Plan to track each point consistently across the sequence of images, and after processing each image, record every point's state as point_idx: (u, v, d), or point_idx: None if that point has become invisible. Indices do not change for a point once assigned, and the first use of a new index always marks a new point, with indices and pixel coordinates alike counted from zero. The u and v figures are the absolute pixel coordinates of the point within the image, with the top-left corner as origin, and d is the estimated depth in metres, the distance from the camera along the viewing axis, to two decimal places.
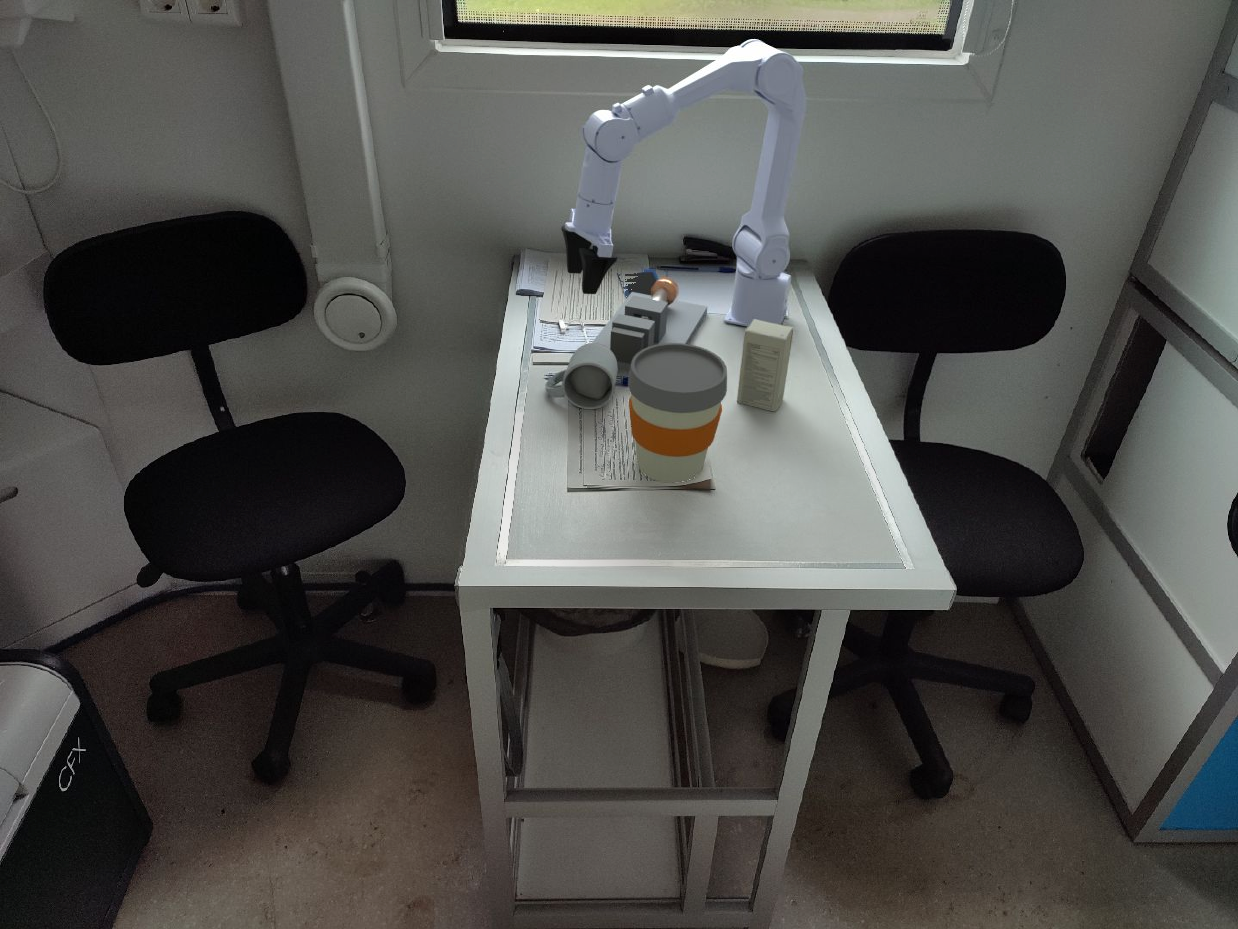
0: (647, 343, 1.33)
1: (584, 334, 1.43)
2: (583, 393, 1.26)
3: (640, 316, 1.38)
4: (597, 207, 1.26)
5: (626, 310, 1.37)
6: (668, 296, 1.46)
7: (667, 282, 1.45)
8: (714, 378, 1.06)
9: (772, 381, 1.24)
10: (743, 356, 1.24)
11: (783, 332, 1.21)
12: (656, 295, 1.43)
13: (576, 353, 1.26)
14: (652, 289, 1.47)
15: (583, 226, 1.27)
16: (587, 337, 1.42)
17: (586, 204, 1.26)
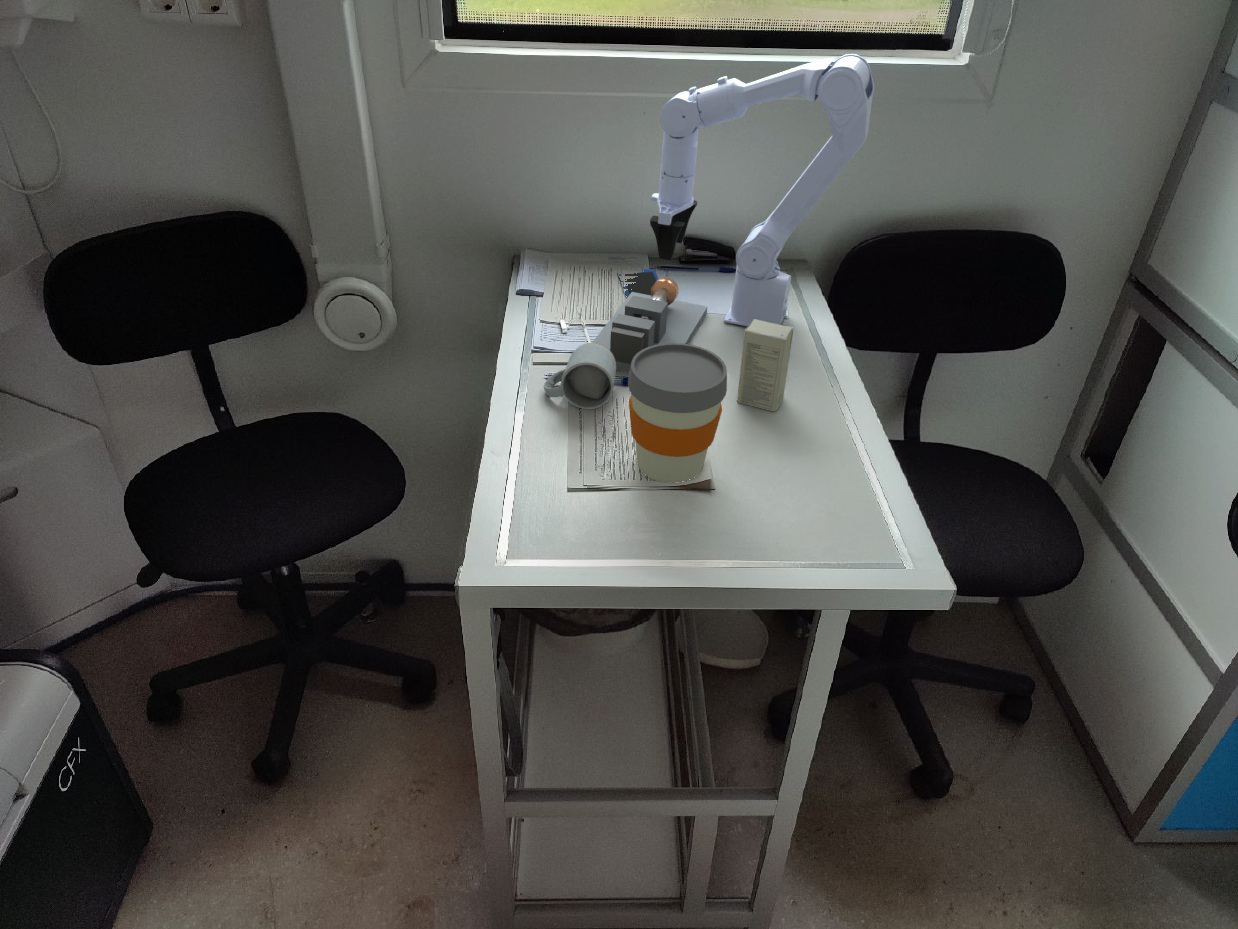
0: (647, 343, 1.33)
1: (586, 334, 1.43)
2: (582, 393, 1.26)
3: (640, 316, 1.38)
4: (669, 179, 1.39)
5: (626, 310, 1.37)
6: (668, 296, 1.46)
7: (667, 282, 1.45)
8: (714, 378, 1.06)
9: (772, 381, 1.24)
10: (743, 356, 1.24)
11: (783, 332, 1.21)
12: (656, 295, 1.43)
13: (575, 353, 1.26)
14: (652, 289, 1.47)
15: (660, 196, 1.42)
16: (588, 337, 1.42)
17: (662, 176, 1.40)
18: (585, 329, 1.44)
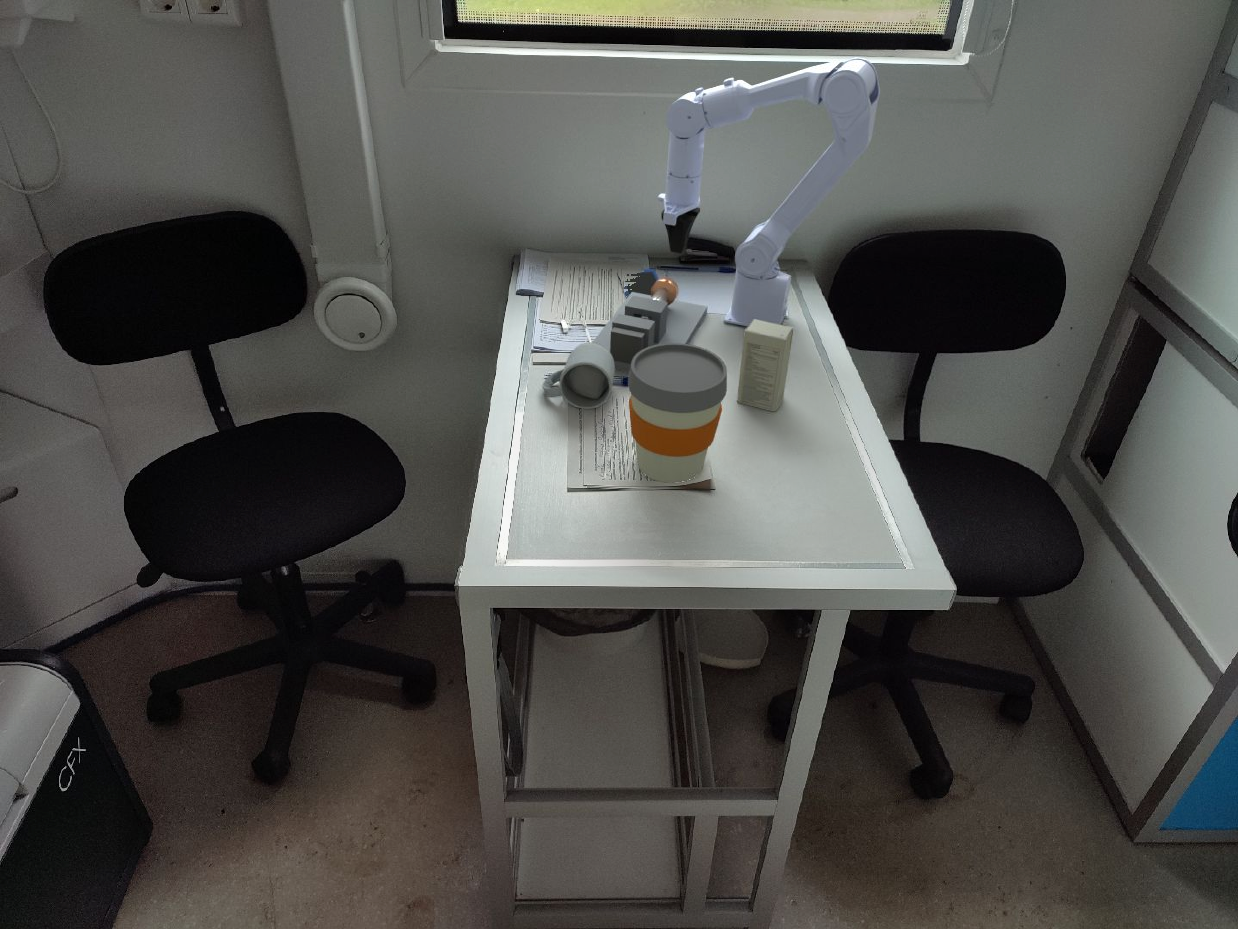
0: (647, 343, 1.33)
1: (587, 334, 1.43)
2: (580, 393, 1.26)
3: (640, 316, 1.38)
4: (674, 180, 1.39)
5: (626, 310, 1.37)
6: (668, 296, 1.46)
7: (667, 282, 1.45)
8: (714, 378, 1.06)
9: (772, 381, 1.24)
10: (743, 356, 1.24)
11: (783, 332, 1.21)
12: (656, 295, 1.43)
13: (573, 353, 1.26)
14: (652, 289, 1.47)
15: (667, 197, 1.42)
16: (590, 337, 1.42)
17: (668, 177, 1.40)
18: (586, 329, 1.45)
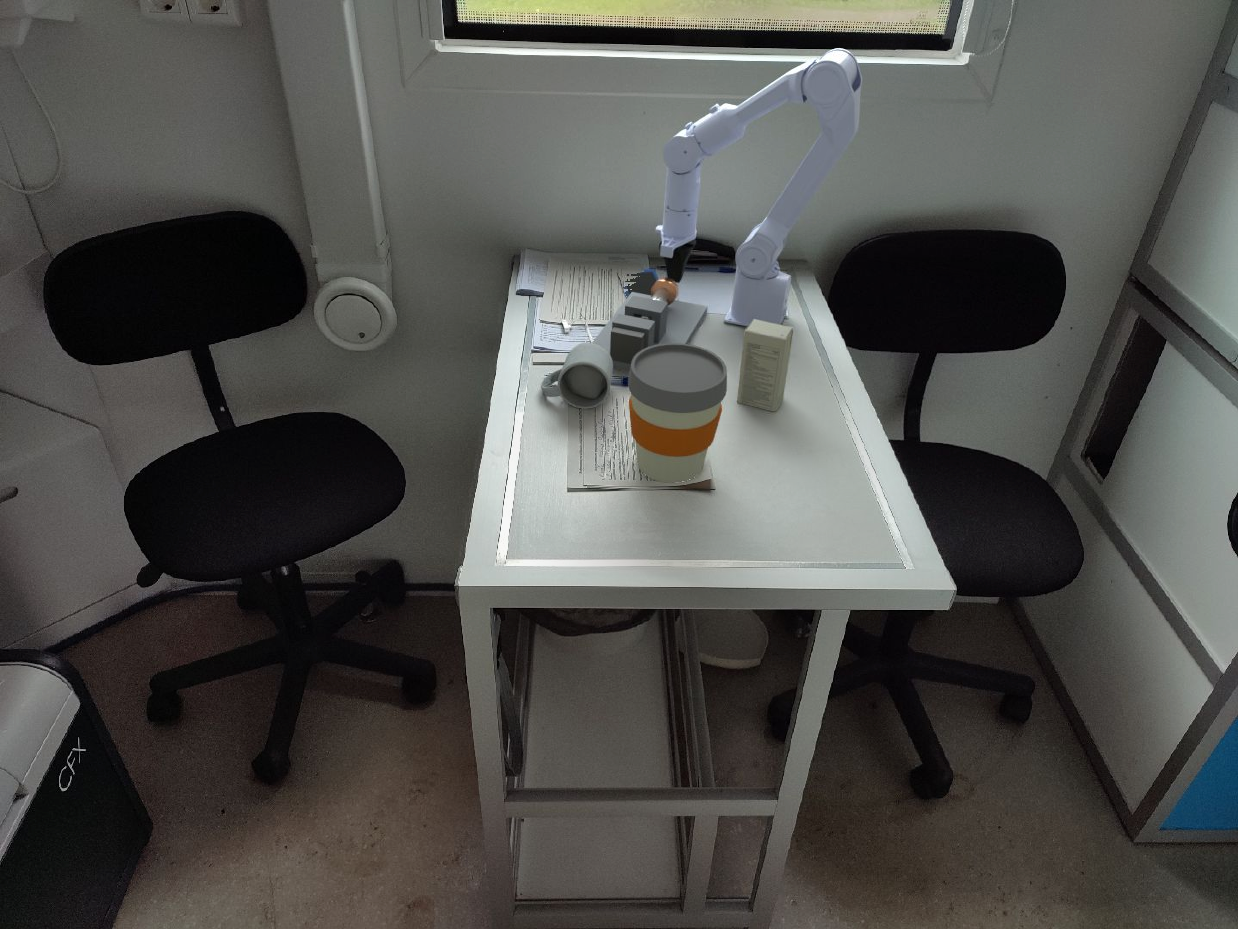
0: (647, 343, 1.33)
1: (588, 333, 1.43)
2: (579, 393, 1.26)
3: (640, 316, 1.38)
4: (671, 213, 1.43)
5: (626, 310, 1.37)
6: (668, 296, 1.46)
7: (667, 282, 1.45)
8: (714, 378, 1.06)
9: (772, 381, 1.24)
10: (743, 356, 1.24)
11: (783, 332, 1.21)
12: (656, 295, 1.43)
13: (572, 353, 1.26)
14: (652, 289, 1.47)
15: (664, 229, 1.45)
16: (591, 336, 1.42)
17: (665, 210, 1.44)
18: (587, 329, 1.45)
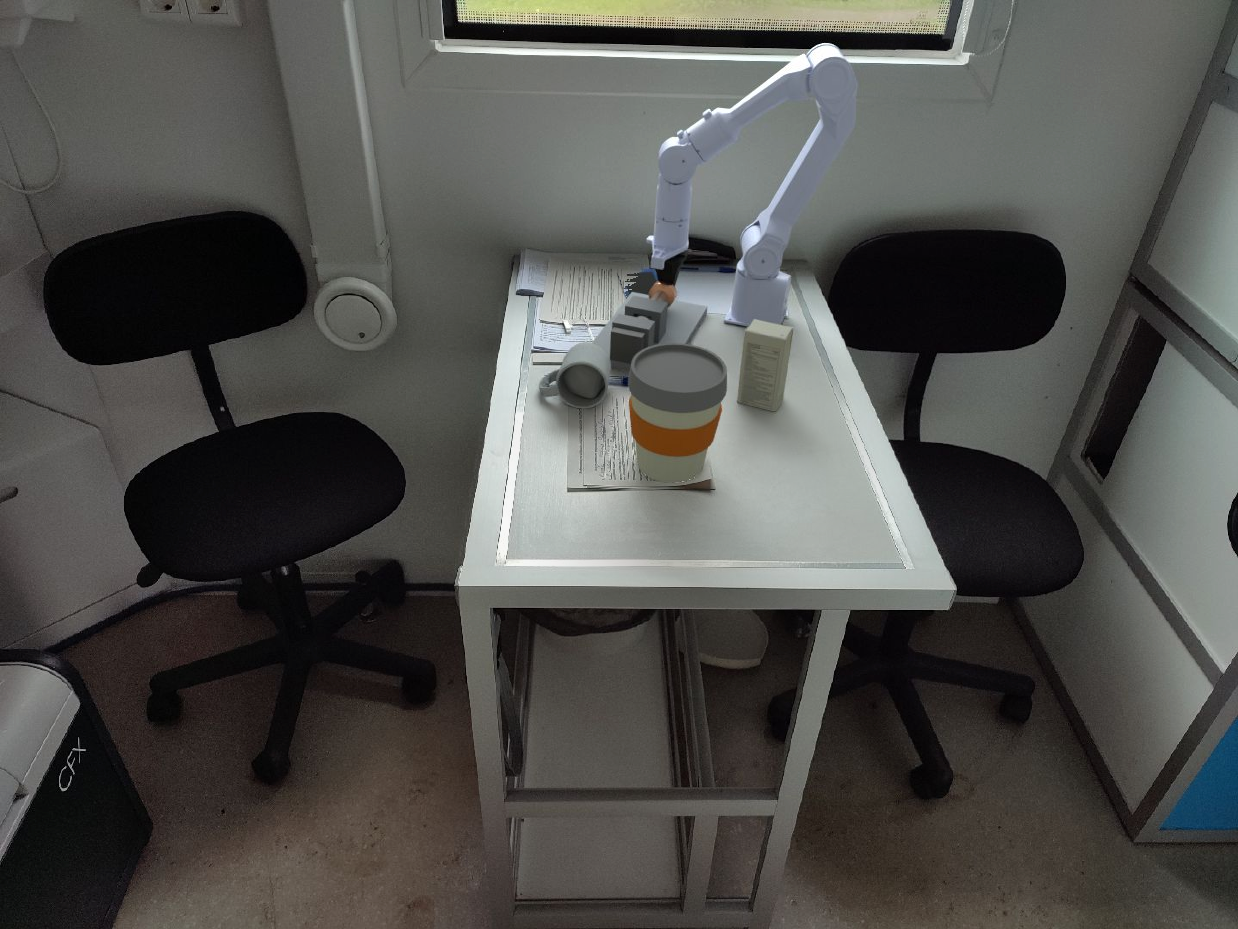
0: (647, 343, 1.33)
1: (590, 333, 1.43)
2: (576, 392, 1.26)
3: None
4: (662, 223, 1.39)
5: (626, 310, 1.37)
6: (666, 299, 1.45)
7: (665, 285, 1.44)
8: (714, 378, 1.06)
9: (772, 381, 1.24)
10: (743, 356, 1.24)
11: (783, 332, 1.21)
12: (654, 298, 1.42)
13: (569, 352, 1.26)
14: (650, 292, 1.46)
15: (655, 240, 1.42)
16: (593, 336, 1.43)
17: (656, 220, 1.40)
18: (589, 329, 1.45)
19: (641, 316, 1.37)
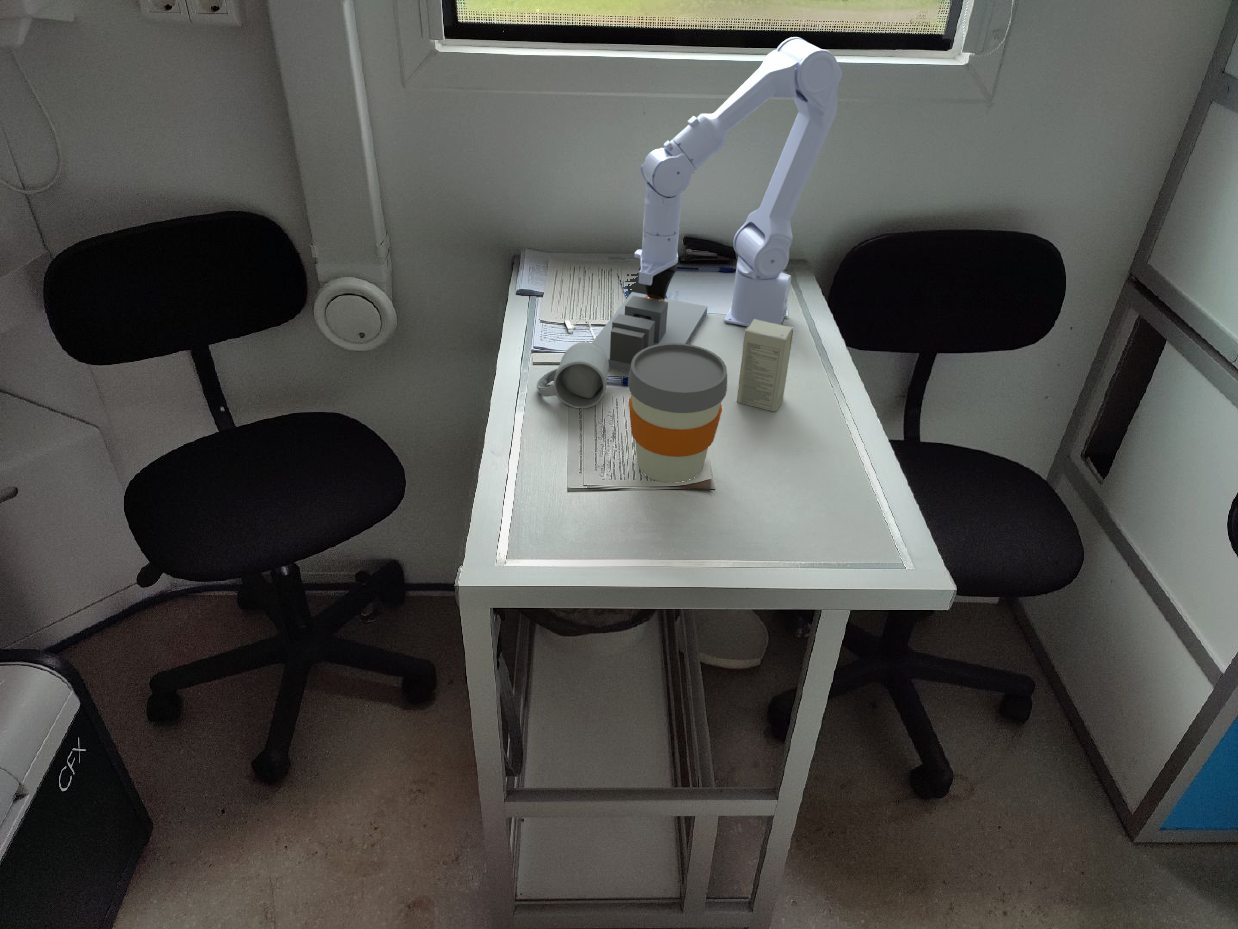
0: (647, 343, 1.33)
1: (592, 333, 1.43)
2: (574, 392, 1.26)
3: None
4: (651, 238, 1.34)
5: (626, 310, 1.37)
6: None
7: (654, 299, 1.40)
8: (714, 378, 1.06)
9: (772, 381, 1.24)
10: (743, 356, 1.24)
11: (783, 332, 1.21)
12: None
13: (567, 352, 1.26)
14: None
15: (643, 254, 1.37)
16: (595, 336, 1.43)
17: (644, 234, 1.35)
18: (591, 328, 1.45)
19: None
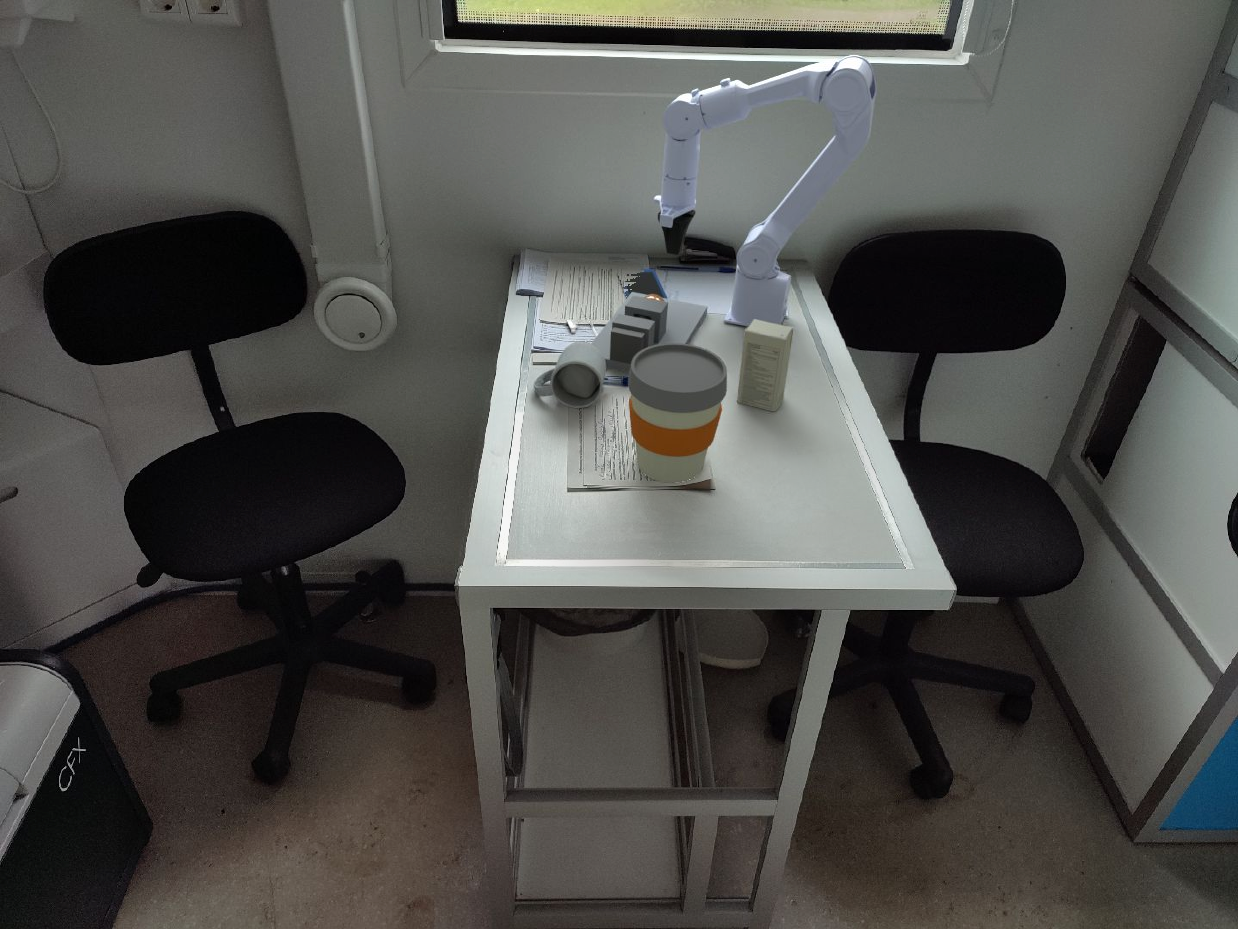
0: (647, 343, 1.33)
1: (594, 333, 1.44)
2: (571, 392, 1.26)
3: None
4: (670, 182, 1.39)
5: (626, 310, 1.37)
6: None
7: (655, 299, 1.40)
8: (714, 378, 1.06)
9: (772, 381, 1.24)
10: (743, 356, 1.24)
11: (783, 332, 1.21)
12: None
13: (564, 352, 1.26)
14: None
15: (662, 199, 1.41)
16: None
17: (664, 178, 1.40)
18: (593, 328, 1.45)
19: None
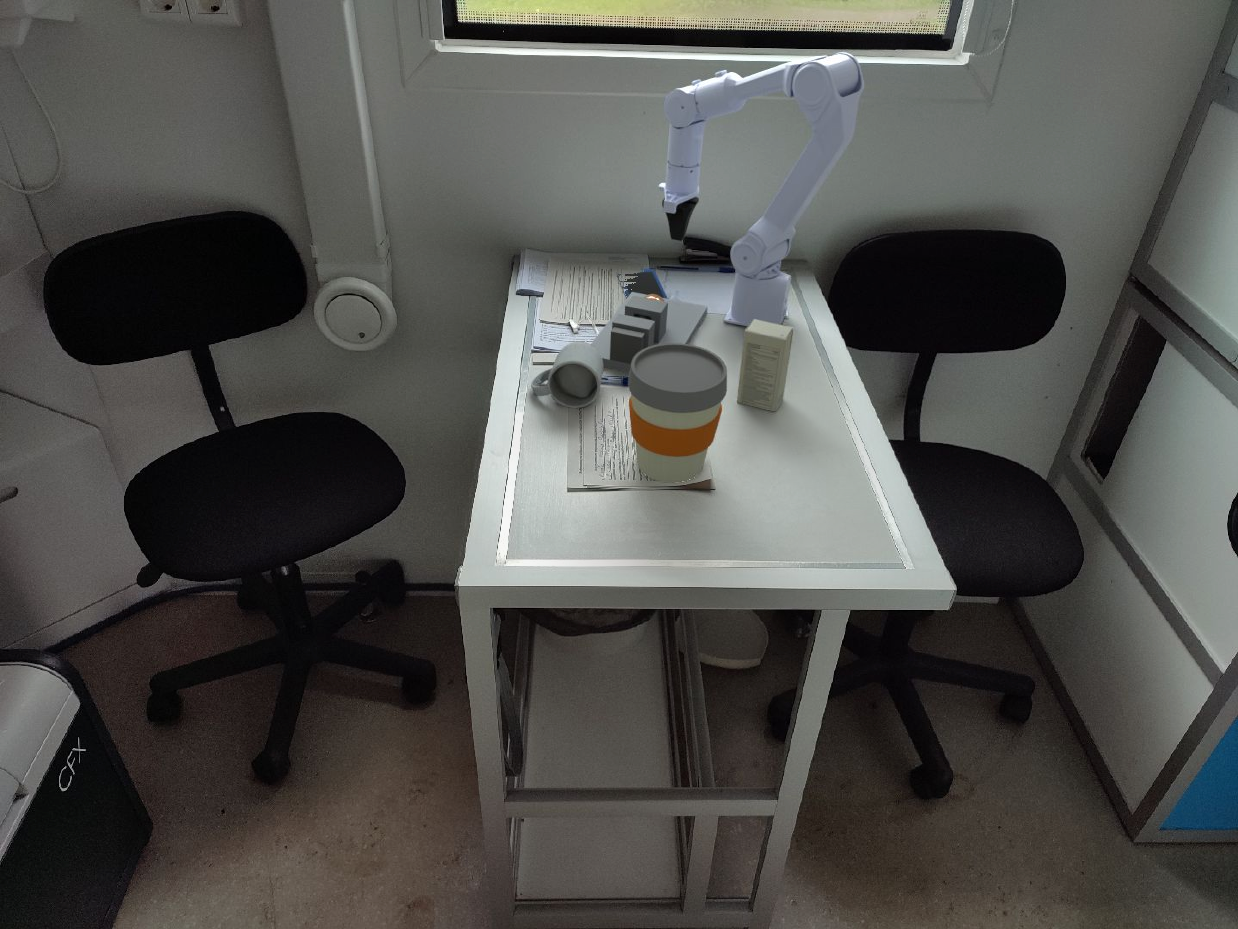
0: (647, 343, 1.33)
1: (597, 332, 1.44)
2: (569, 392, 1.26)
3: None
4: (674, 169, 1.44)
5: (626, 310, 1.37)
6: None
7: (655, 299, 1.40)
8: (714, 378, 1.06)
9: (772, 381, 1.24)
10: (743, 356, 1.24)
11: (783, 332, 1.21)
12: None
13: (562, 352, 1.26)
14: None
15: (667, 186, 1.46)
16: None
17: (668, 166, 1.45)
18: (595, 328, 1.45)
19: None
